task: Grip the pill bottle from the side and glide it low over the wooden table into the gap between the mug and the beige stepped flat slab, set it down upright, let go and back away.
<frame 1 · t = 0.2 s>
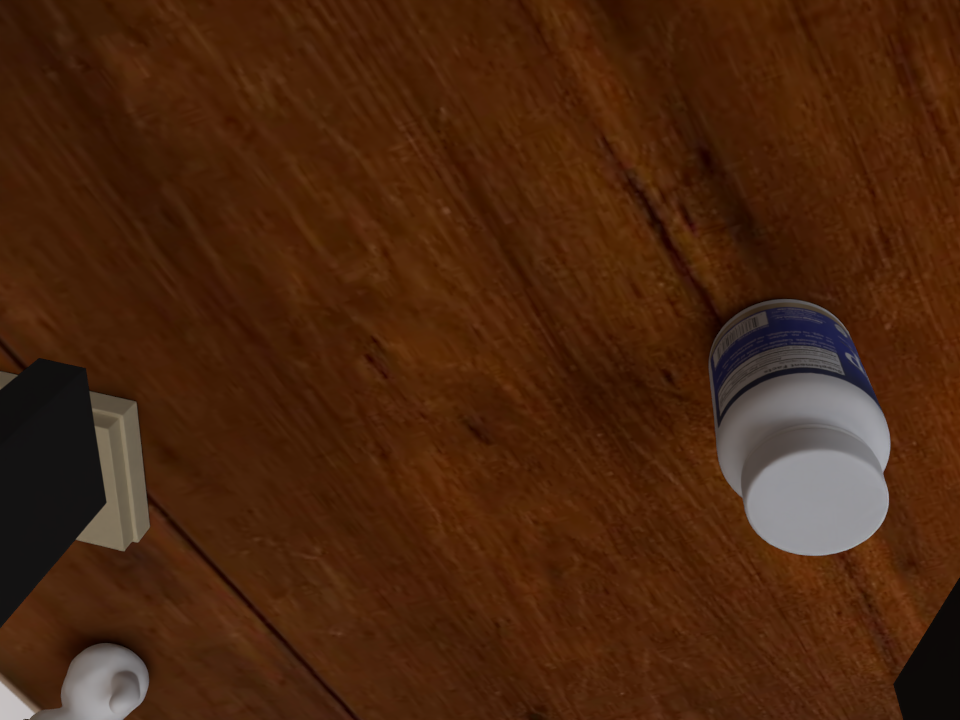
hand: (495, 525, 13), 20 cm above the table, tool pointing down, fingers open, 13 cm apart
figurine: (120, 662, 50), on the table
beige stepped flat slab: (12, 437, 42), on the table
pill bottle: (778, 354, 32), on the table
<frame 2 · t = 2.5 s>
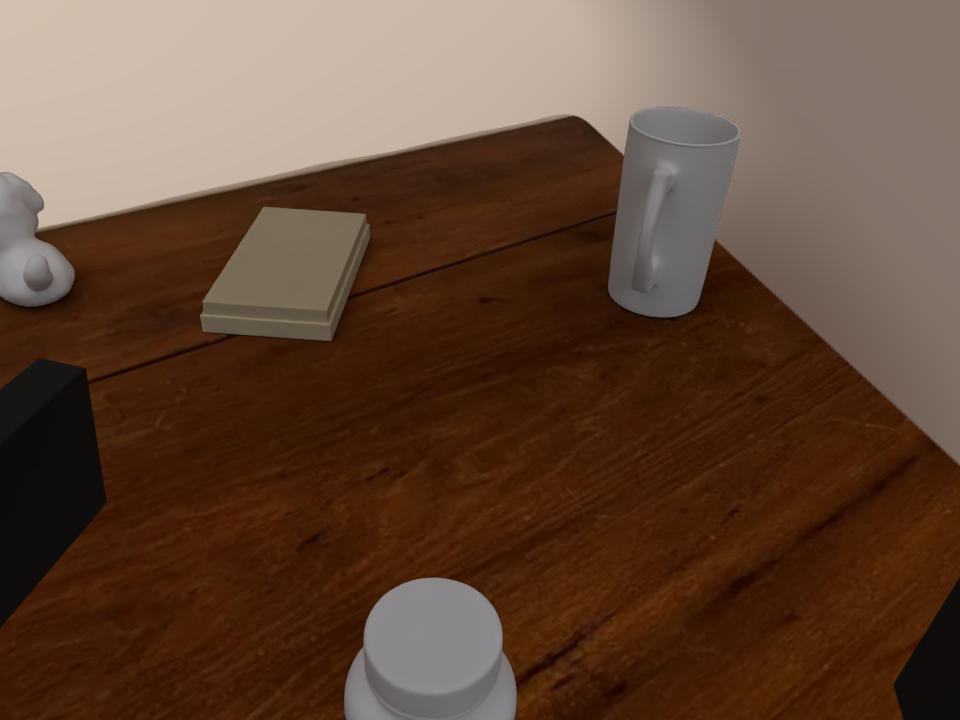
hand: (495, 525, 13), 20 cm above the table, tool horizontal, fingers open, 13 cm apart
mug: (645, 308, 56), on the table
figurine: (35, 296, 54), on the table
beige stepped flat slab: (294, 280, 57), on the table
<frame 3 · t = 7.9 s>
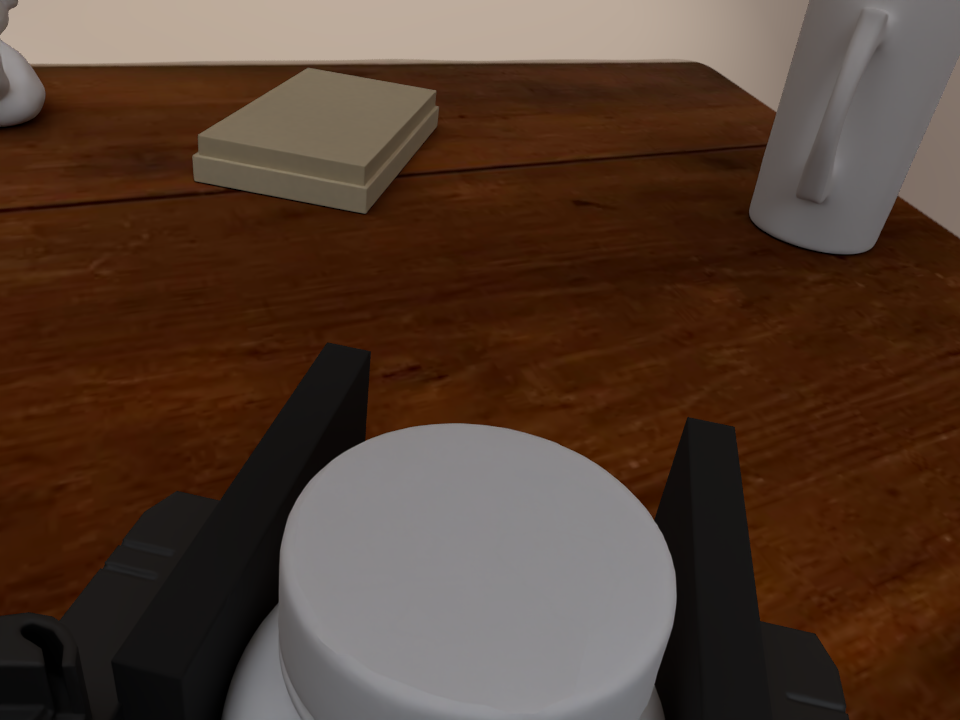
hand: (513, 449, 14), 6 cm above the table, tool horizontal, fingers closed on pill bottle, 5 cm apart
mug: (801, 241, 41), on the table
beige stepped flat slab: (331, 150, 43), on the table
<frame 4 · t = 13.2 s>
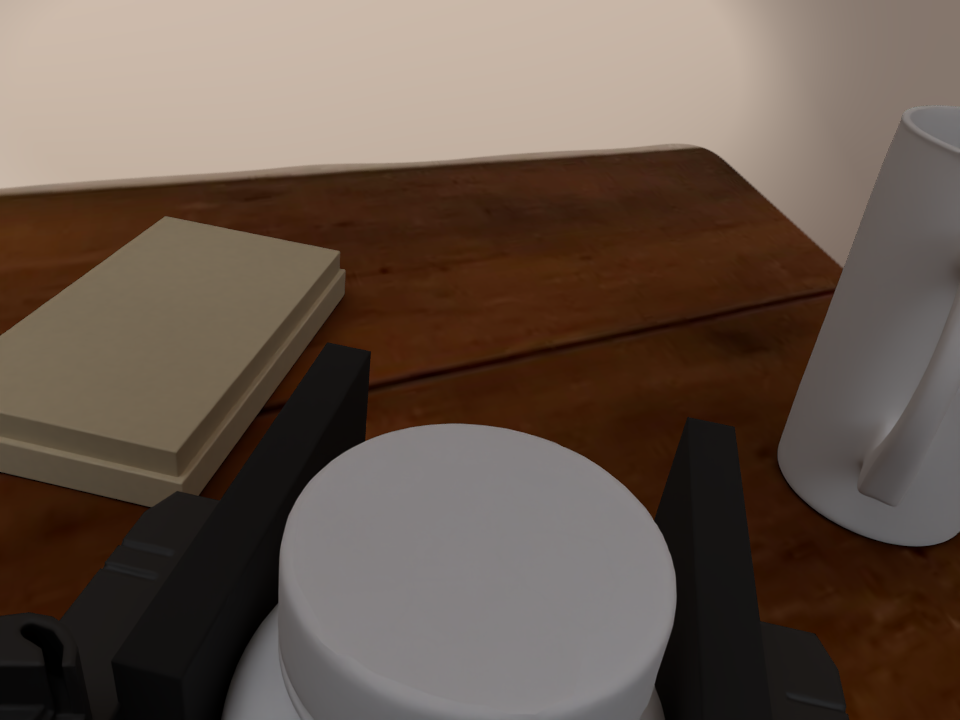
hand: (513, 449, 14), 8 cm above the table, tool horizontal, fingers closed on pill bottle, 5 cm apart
mug: (856, 512, 28), on the table
beige stepped flat slab: (173, 360, 30), on the table
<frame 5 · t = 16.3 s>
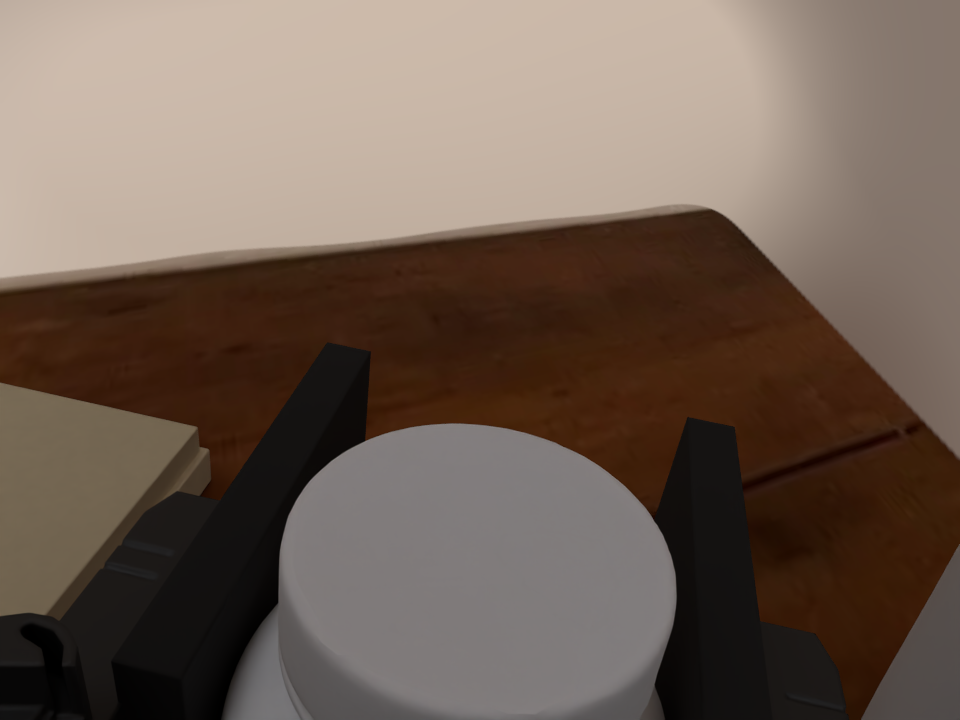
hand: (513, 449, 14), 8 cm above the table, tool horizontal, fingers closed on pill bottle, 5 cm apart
when the fingers open (6 cm above the table, at t = 18.8 s): pill bottle stays where it is, on the table.
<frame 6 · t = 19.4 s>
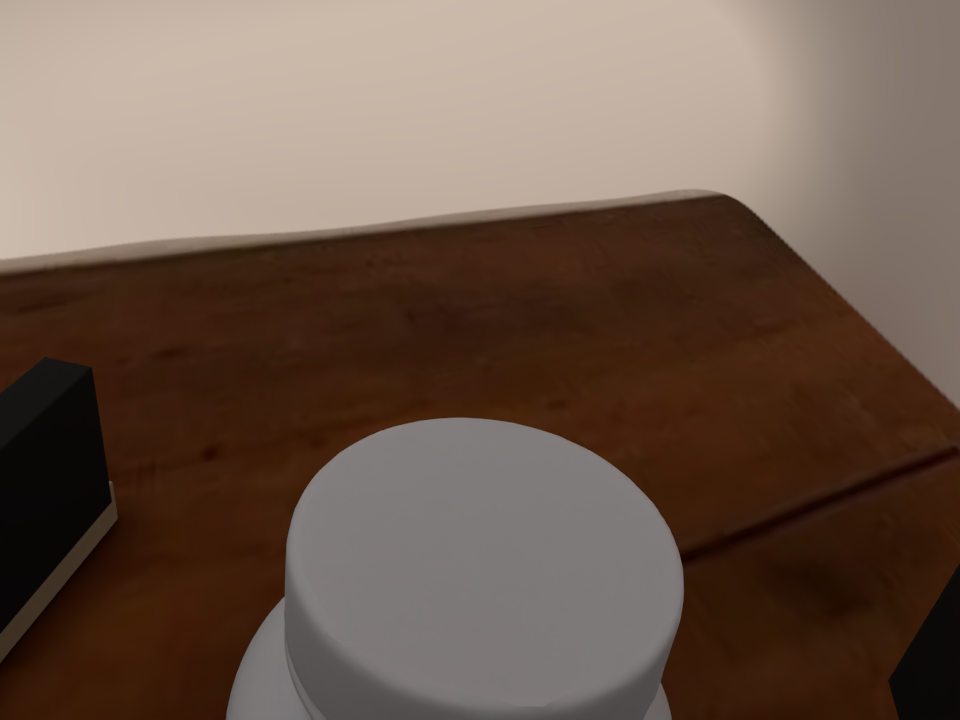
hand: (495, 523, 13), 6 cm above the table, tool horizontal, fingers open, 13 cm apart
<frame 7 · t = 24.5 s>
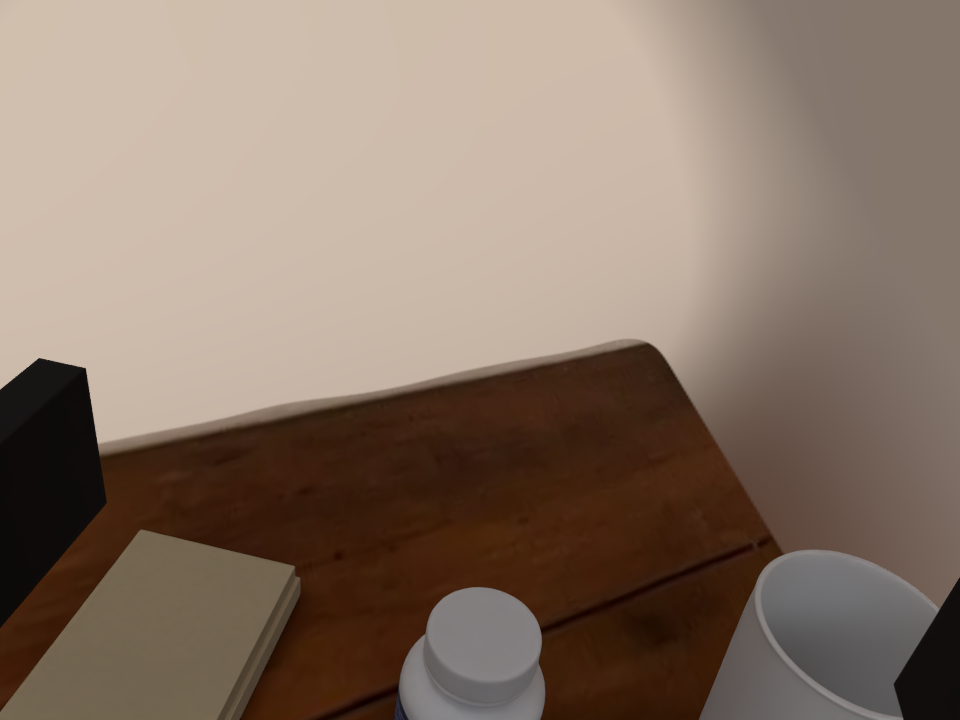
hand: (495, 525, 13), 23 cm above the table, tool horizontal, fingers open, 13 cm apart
beige stepped flat slab: (145, 699, 34), on the table
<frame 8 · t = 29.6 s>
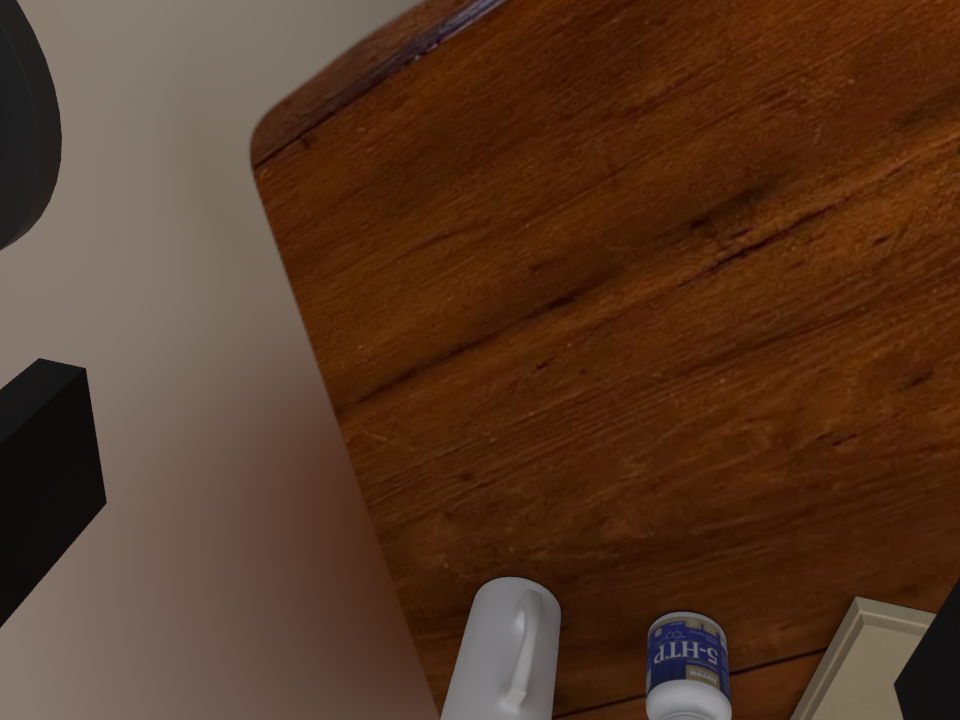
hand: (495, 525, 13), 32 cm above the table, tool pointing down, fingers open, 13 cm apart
mug: (524, 590, 58), on the table
beige stepped flat slab: (877, 680, 56), on the table
pill bottle: (685, 633, 58), on the table
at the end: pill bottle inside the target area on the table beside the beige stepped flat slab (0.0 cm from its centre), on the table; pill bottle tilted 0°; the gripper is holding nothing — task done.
